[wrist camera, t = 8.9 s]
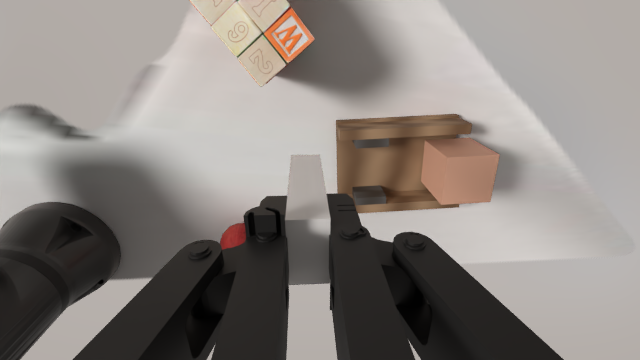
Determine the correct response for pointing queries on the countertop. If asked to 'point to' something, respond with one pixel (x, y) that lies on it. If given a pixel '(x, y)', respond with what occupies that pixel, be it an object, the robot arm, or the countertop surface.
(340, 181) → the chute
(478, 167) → the block
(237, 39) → the stack of blocks
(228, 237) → the onion
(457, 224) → the countertop surface
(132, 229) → the countertop surface
